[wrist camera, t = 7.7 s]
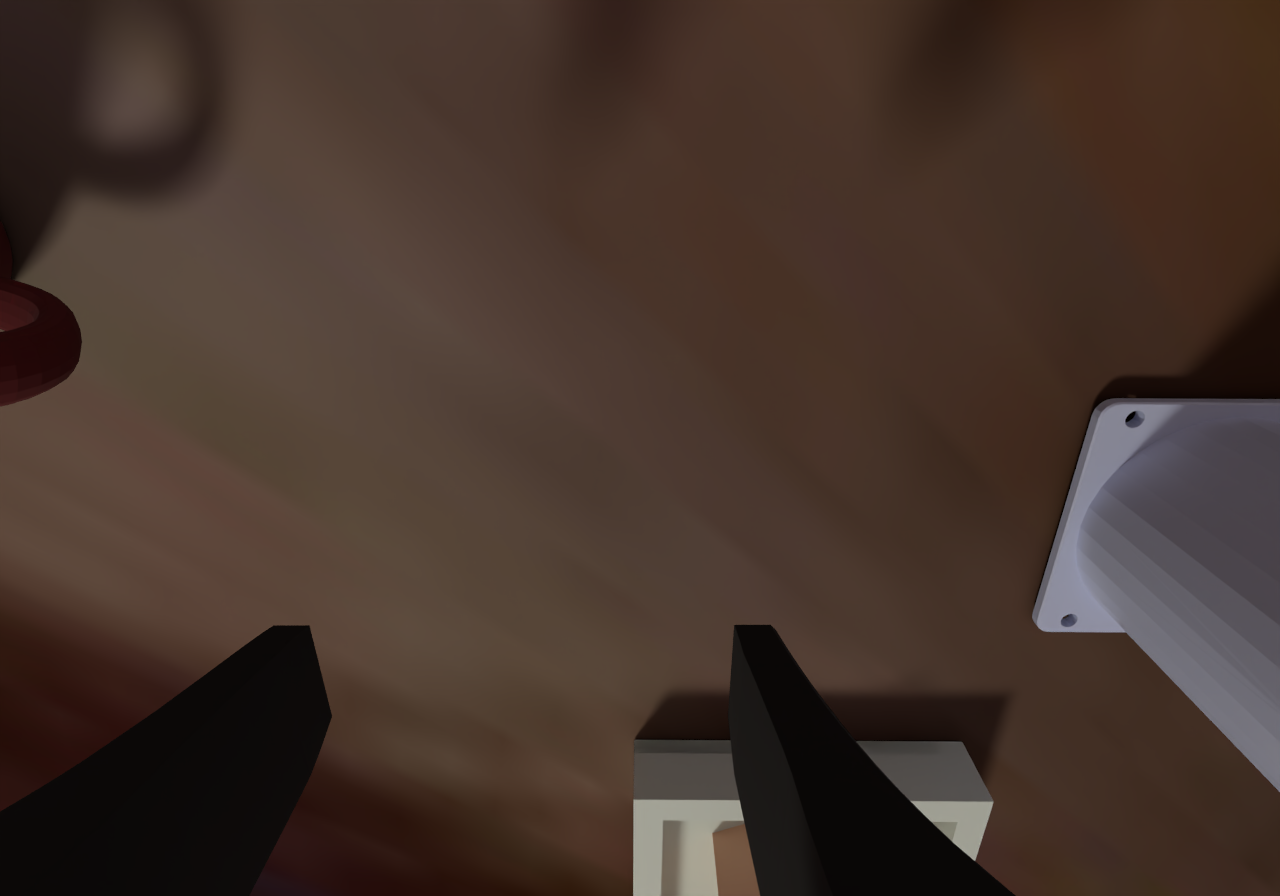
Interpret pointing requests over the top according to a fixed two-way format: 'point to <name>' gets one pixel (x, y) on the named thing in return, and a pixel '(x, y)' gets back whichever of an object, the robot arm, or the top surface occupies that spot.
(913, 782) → the tray
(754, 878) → the block
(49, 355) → the mug
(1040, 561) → the top surface
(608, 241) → the top surface
